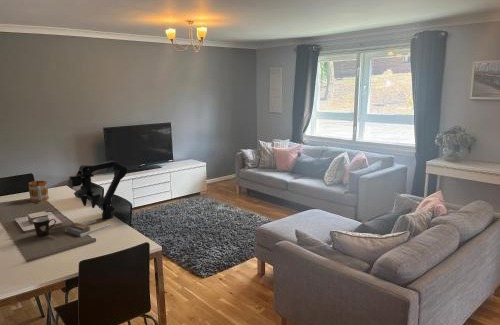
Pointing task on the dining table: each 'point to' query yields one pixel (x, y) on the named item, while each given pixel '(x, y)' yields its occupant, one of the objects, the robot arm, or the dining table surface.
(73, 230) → the rail plate
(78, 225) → the walnut slider
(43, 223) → the coffee mug
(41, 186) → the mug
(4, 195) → the dining table surface
